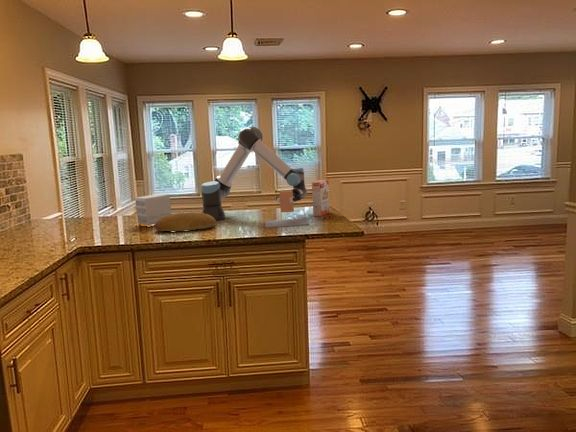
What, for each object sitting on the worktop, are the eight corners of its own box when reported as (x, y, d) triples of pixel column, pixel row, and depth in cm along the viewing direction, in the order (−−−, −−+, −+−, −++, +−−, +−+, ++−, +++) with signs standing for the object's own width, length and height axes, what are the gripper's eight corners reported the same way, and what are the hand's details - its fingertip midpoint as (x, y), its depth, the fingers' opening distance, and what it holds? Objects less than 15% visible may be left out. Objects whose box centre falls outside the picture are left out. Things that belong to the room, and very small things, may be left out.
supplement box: (162, 221, 307) (159, 193, 304) (173, 222, 298) (170, 194, 295) (137, 225, 295) (134, 197, 292) (148, 227, 286) (144, 198, 283)
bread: (215, 230, 265) (213, 212, 263) (152, 234, 264) (150, 217, 262) (218, 224, 283) (216, 207, 282) (159, 228, 282) (157, 212, 280)
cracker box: (322, 216, 284) (320, 182, 281) (313, 216, 287) (311, 182, 283) (330, 212, 297) (328, 179, 293) (321, 212, 299) (319, 179, 296)
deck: (282, 211, 278) (281, 190, 276) (294, 210, 276) (292, 190, 274) (280, 212, 275) (279, 191, 273) (292, 211, 272) (290, 191, 270)
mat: (265, 228, 260) (265, 227, 260) (265, 221, 279) (265, 220, 279) (308, 225, 261) (308, 223, 261) (305, 219, 280) (305, 218, 280)
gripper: (311, 200, 288) (301, 206, 267) (280, 201, 294) (268, 207, 273) (310, 188, 287) (300, 193, 266) (279, 189, 293) (266, 194, 272)
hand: (283, 200), depth 269 cm, fingers closed on deck, 7 cm apart
